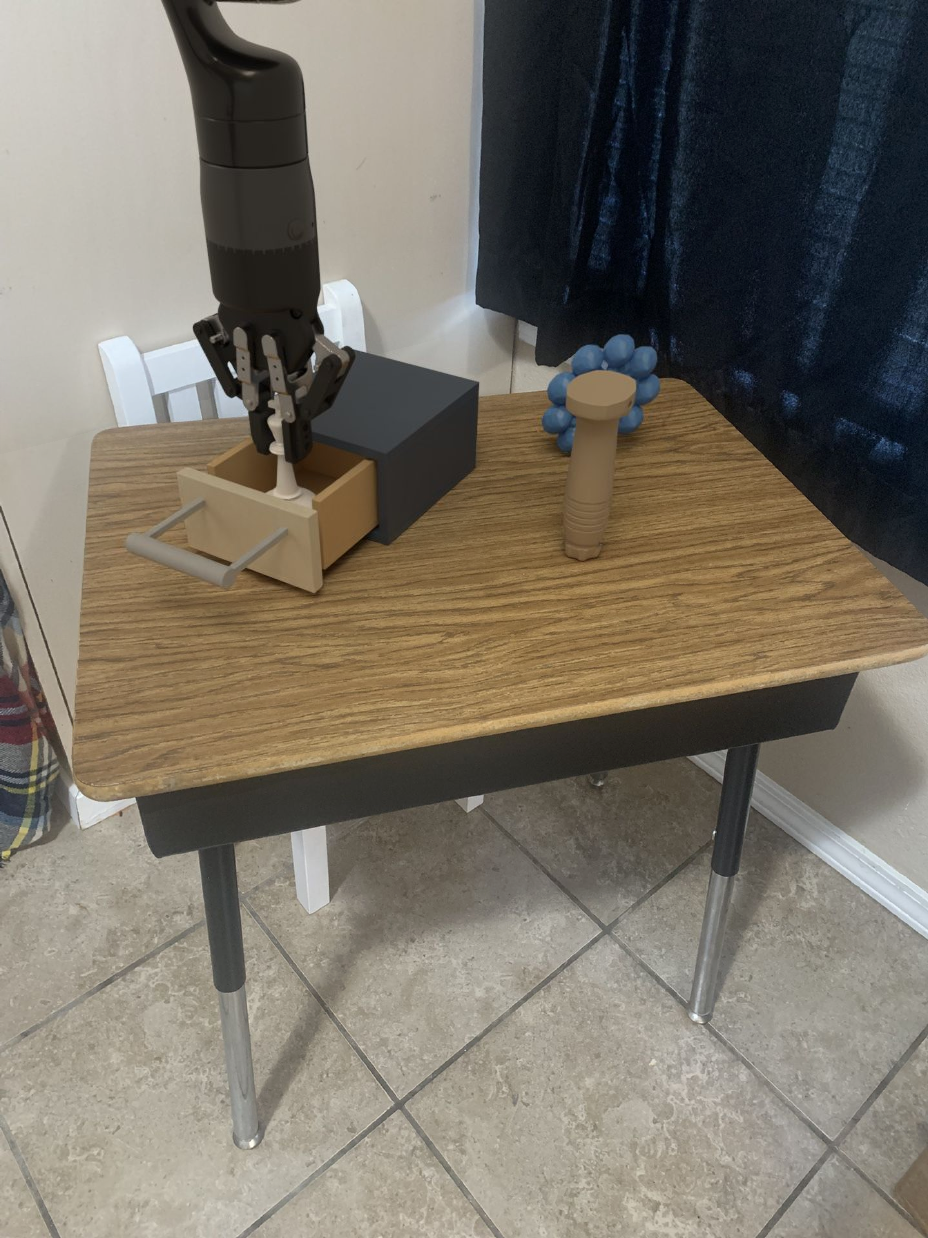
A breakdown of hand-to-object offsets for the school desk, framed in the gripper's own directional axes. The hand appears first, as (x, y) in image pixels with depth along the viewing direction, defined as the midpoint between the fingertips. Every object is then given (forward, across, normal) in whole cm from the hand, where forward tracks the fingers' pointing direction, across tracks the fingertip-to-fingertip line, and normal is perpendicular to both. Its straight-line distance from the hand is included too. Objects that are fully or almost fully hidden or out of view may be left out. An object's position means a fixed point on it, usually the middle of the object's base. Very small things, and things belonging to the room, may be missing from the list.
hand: (283, 453), depth 77 cm
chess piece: (+5, 0, 0) cm, 5 cm away
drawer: (+8, 0, +2) cm, 8 cm away
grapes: (+9, -15, -30) cm, 35 cm away
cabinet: (+9, 0, -12) cm, 15 cm away
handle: (+9, -21, -12) cm, 26 cm away
